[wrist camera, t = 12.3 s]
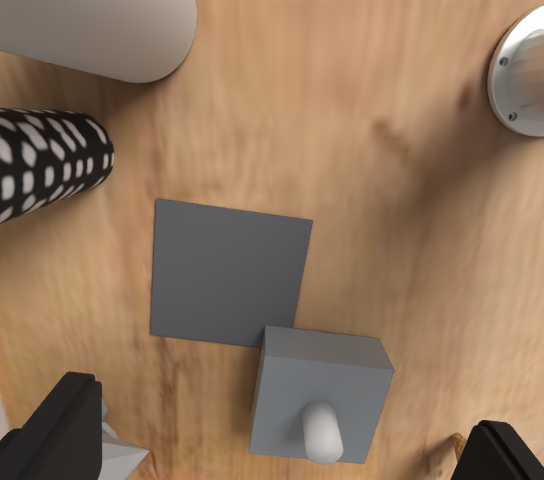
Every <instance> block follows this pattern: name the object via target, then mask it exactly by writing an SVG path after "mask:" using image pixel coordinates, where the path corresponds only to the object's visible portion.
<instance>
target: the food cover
mask: <svg viewBox="0 0 544 480" xmlns="http://www.w3.org/2000/svg"><path fill="white" fill-rule="evenodd" d="M394 371H395V370H394V368H393V366H392V364H391V362H390V360H389V358H388V356H387V354H386V352H385V350H384V348H383V346H382V343H381V341H380V339H377V338H369V337H360V336H352V335H343V334H335V333H326V332H318V331H309V330H301V329H292V328H284V327H275V326H267V325H265V331H264V337H263V343H262V349H261V355H260V361H259V367H258V373H257V379H256V385H255V392H254V398H253V404H252V410H251V418H250V438H249V453H251V454H261V455H272V456H283V457H293V458H304V459H310V460H311V461H312V462H314V463H317V464H330V463H333V462H335V461H336V462H347V463H357V464H364V463H365V460H366V457H367V454H368V451H369V448H370V445H371V442H372V439H373V436H374V433H375V429H376V426H377V423H378V420H379V417H380V414H381V411H382V408H383V405H384V402H385V399H386V395H387V392H388V389H389V386H390V383H391V380H392V377H393V374H394Z"/></svg>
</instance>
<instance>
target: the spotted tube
mask: <svg viewBox="0 0 544 480" xmlns="http://www.w3.org/2000/svg"><path fill="white" fill-rule="evenodd" d="M113 164H114V149H113V144H112V142H111V139H110V137H109V135H108V134H107V132H106V130H105V129H104V128H103V127H102V126H101V124H100V123H98V122H97V121H96V120H95V119H93V118H92V117H90V116H88V115H86V114H84V113H81V112H78V111H71V110H44V109H13V108H0V224H1V223H3V222H6V221H8V220H11V219H13V218H16V217H18V216H21V215H24V214H26V213H29V212H31V211H34V210H36V209H39V208H41V207H44V206H46V205H49V204H51V203H54V202H57V201H59V200H62V199H64V198H67V197H69V196H72V195H74V194H77V193H79V192H82V191H84V190H87V189H90V188H92V187H95V186H97V185H98V184H100V183H102V182H103V181H104V180H105V179H106V178H107V177H108V175H109V174H110V172H111V170H112V168H113Z"/></svg>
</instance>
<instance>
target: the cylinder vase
mask: <svg viewBox="0 0 544 480" xmlns="http://www.w3.org/2000/svg"><path fill="white" fill-rule="evenodd" d="M196 24H197V11H196V2H195V0H0V51H2V52H6V53H10V54H14V55H18V56H23V57H27V58H31V59H35V60H39V61H43V62H47V63H51V64H55V65H59V66H64V67H68V68H72V69H76V70H80V71H84V72H88V73H92V74H96V75H101V76H105V77H109V78H113V79H117V80H121V81H125V82H131V83H147V82H152V81H156V80H158V79H161V78H163V77H165V76H167V75H168V74H170V73H171V72H173V71H174V70H175V69H176V68H177V67H178V66H179V65H180V64H181V63H182V62H183V60H184V59H185V57H186V56H187V54H188V52H189V50H190V48H191V46H192V43H193V40H194V36H195V31H196Z"/></svg>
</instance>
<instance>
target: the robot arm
mask: <svg viewBox="0 0 544 480" xmlns="http://www.w3.org/2000/svg"><path fill="white" fill-rule="evenodd" d="M499 61H500V64H499ZM487 91H488V97H489V102H490V104H491V107H492V109H493V112H494V113H495V115H496V116H497V118H498V119H499V121H500V122H502V123H503V124H504V125H505V126H506V127H507V128H509V129H511V130H512V131H514V132H516V133H519V134H523V135H527V136H537V137H539V136H544V4H543V5H541V6H539V7H537V8H534V9H532V10H531V11H529V12H528V13H527V14H525V15H524V16H522V17H521V18H520V19H519V20H518V21H517V22H516V23H515V24H514V25H513V26H511V27H510V29H509V30H508V31H507V33H506V34H505V35H504V37H503V38H502V39H501V41H500V43H499V45H498V46H497V48H496V50H495V52H494V55H493V58H492V60H491V63H490V67H489V72H488V78H487ZM509 115H510V117H509ZM101 468H102V385H101V382H99V381H95V376H94V375H93V374H86V373H78V372H67V373H66V374H65V375H64V376H63V377H62V378H61V380H60V381H59V382H58V383H57V385H56V386H55V387H54V388H53V390H52V391H51V392H50V393H49V395H48V396H47V397H46V398H45V400H44V401H43V402H42V403H41V405H40V406H39V407H38V408H37V410H36V411H35V412H34V413H33V415H32V416H31V417H30V418H29V420H28V421H27V422H26V423H25V424H24V426H23V427H22V428H21V429H19V428H18V429H13V430H11V431H10V432H8V433H7V434H6V435H5V436H4V437H3V438H2V439H1V440H0V480H98V478H99V475H100V472H101ZM451 480H544V467H543V466H542V465H541V463H540V462H539V461H538V459H537V458H536V457H535V456H534V454H533V453H532V452H531V450H530V449H529V448H528V447H527V445H526V444H525V443H524V441H523V440H522V439H521V438H520V436H519V435H518V434H517V432H516V431H515V430H514V429H513V427H512V426H511V425H510V424H508V423H506V422H497V421H489V420H482V421H480V422H479V423H478V425H475V426H474V427H473V428H472V430H471V433H470V435H469V437H468V440H467V442H466V444H465V447H464V449H463V451H462V454H461V456H460V459H459V461H458V463H457V466H456V468H455V470H454V473H453V475H452V477H451Z"/></svg>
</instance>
